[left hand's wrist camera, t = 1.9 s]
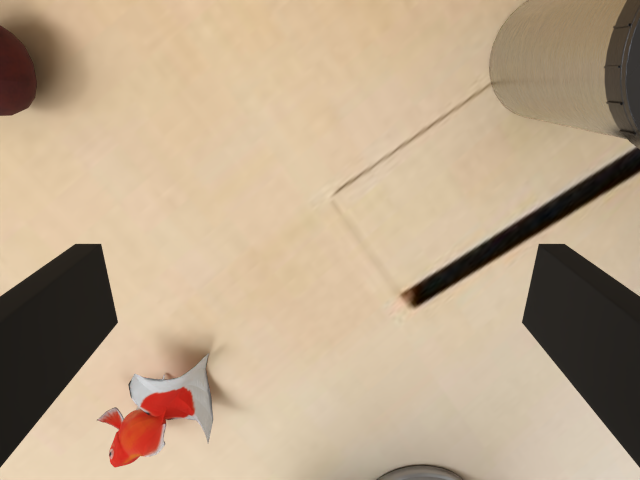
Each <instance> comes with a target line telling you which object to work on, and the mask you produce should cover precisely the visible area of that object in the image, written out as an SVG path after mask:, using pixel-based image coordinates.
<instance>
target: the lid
mask: <svg viewBox="0 0 640 480" xmlns="http://www.w3.org/2000/svg"><path fill="white" fill-rule="evenodd" d="M613 28H614V29H613V32H612V35H611V38H610V42H609V46H608V50H607V55H606V62H605V66H604V68H605V80H604V83H605V92H606V98H607V102H606V104H608V106H609V110H610V112H611V114H612V117H613V119H614V121H615V123H616V125H617V126H618V128H619V129H620V131H619V132H620V133H622V134H623V135H624V136H625V137H626V138H627V139H628V140H629V141H630V142H631V143H632V144H634V145H635V146H636V147H638V148H639V149H640V0H627V1H626V3H625V5H624V7H623V9H622V11H621V13H620V15H619V17H618V19H617V21H616V24H615V26H613Z"/></svg>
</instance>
